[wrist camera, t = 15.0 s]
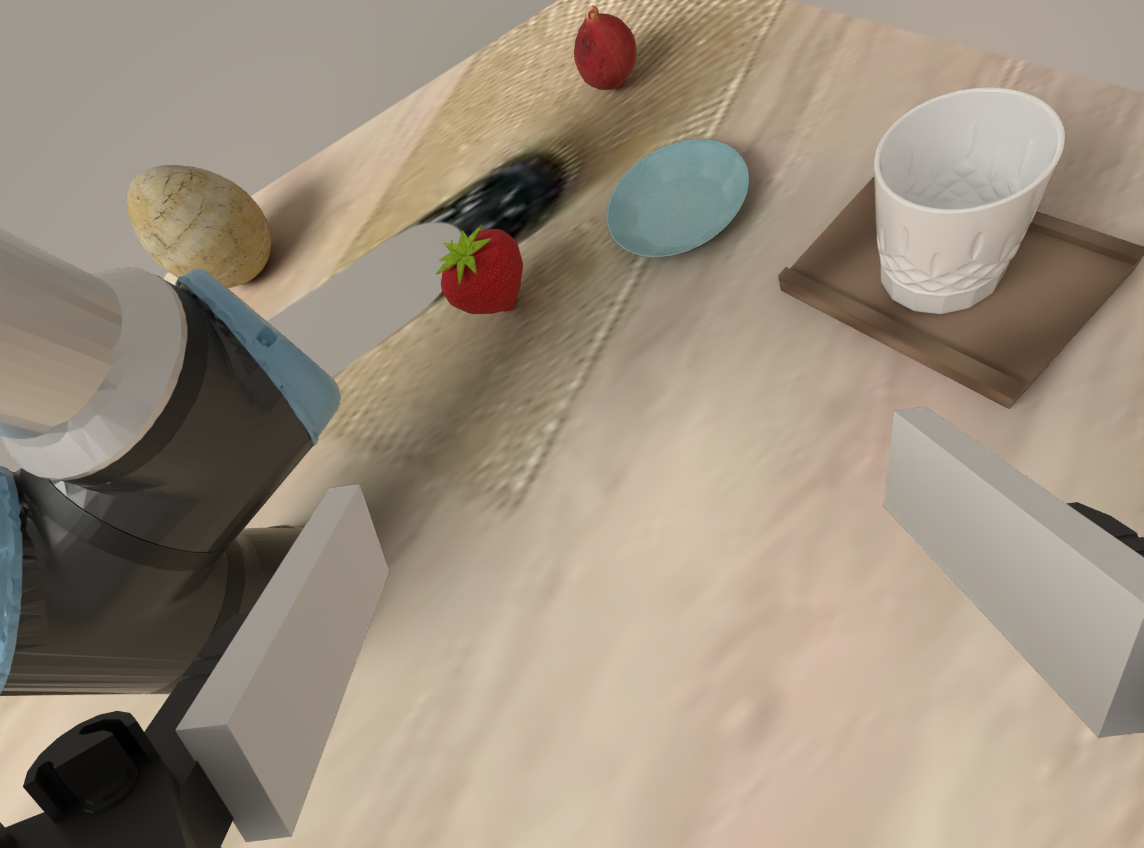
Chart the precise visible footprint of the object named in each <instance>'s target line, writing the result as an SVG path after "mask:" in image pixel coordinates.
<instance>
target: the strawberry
mask: <svg viewBox="0 0 1144 848" xmlns="http://www.w3.org/2000/svg"><path fill="white" fill-rule="evenodd" d="M481 228H482V225H481V226H480V227H479V228H478V229H477V230H476V231H475V232H474V233H473V234H471V235H470V236H469V237H468V238H467V236H466V235H465V233H464V232H463V230H462V233H461V236H460V240H459V243H458V244H455V243H454V244H453V243H452V240H451V243H444V244H445V245H446V247H447V248H448V249H449V251H450V252H451V253H450V254H448V255H446V256H445V257H443V258H441V259H440V261H444V260H447V261H446V262H445V263H444V264H443V266H442V267H441V268H440V269H439V270H438V272H437V273H436V274H439V273H441V272H443V273H442V279H441V288H442V291H443V293H444V295H445V297H446V298H447V300H448V302H449V303H450V304H451V305H452V306H454V307H456V308H458V309H461V310H463V311H465V312H467V313H470V314H492V313H496V312H501V311H508V310H511V309H512V308H513V307H514V306H515V304H516V301H517V295H518V292H519V289H520V285H521V277H522V270H523V262H522V258H521V254H520V251H519V247H518V245H517V242H516V241H515V240H514V239H513V238H512V237H511V236H510V235H508V234H507V233H506V232H504V231H502V230H499V229H491V230H483V231H480V230H481Z"/></svg>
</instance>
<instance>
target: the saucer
mask: <svg viewBox="0 0 1144 848" xmlns="http://www.w3.org/2000/svg"><path fill="white" fill-rule="evenodd" d="M748 186H749V173H748V168H747V165H746V163H745V161H744V159H743V158H742V156H741V155H740V154H739V153H738V152H737V151H736V150H735V149H734V148H732V147H731V146H729V145H727V144H725V143H723V142H720V141H716V140H711V139H691V140H684V141H680V142H676V143H673V144H670V145H667V146H665V147H662V148H660V149H658V150H656V151H654V152H653V153H651V154H649V155H648V156H646V157H644V158H643V159H642V160H640V161H639V162H637V163H636V164H635V165H634V166H633V167H632V168H631V169H630V170H629V171H628V172H627V173H626V174H625V175H624V176H623V177H622V179H621V180H620V181H619V183H618V184H617V186H616V187H615V189H614V191H613V193H612V195H611V197H610V200H609V203H608V207H607V226H608V229H609V233H610V234H611V236H612V238H613V239H614V241H615V242H616V243H617V244H618V245H619V246H620V247H621V248H623V249H625V250H626V251H628V252H630V253H633V254H636V255H640V256H646V257H665V256H672V255H677V254H680V253H684V252H687V251H689V250H692V249H694V248H696V247H698V246H700V245H702V244H704V243H706V242H708V241H709V240H711V239H712V238H714V237H715V236H716V235H717V234H718V233H720V232H721V231H722V230H723V229H724V228H725V227H726V226H727V225H728V224H729V223H730V222H731V221H732V220H733V218H734V217H735V216H736V214H737V213H738V211H739V210H740V208H741V206H742V204H743V202H744V200H745V198H746V194H747V192H748Z"/></svg>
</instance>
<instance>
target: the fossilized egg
mask: <svg viewBox="0 0 1144 848" xmlns="http://www.w3.org/2000/svg"><path fill="white" fill-rule="evenodd" d="M127 208H128V213H129V217H130V220H131V223H132V225H133V228H134V230H135V233H136V235H137V236H138V238H139V240H140V242H141V243H142V245H143V247H144V248H145V249H146V251H147V252H148V253H149V254H150V256H151V257H152V258H153V259H154V260H155V261H156V262H157V263H159V264H160V265H161V266H162V267H163V268H164V269H166V270H167V271H168V272H170V273H171V274H173V275H174V276H176V277H179V276H182V275H186V274H187V273H188V272H189V271H191V270H193V269H203V270H205V271H207V272H208V273H209V274H210V275H212V276H213V277H214V278H216V279H217V280H218V281H219V282H221V283H222V284H223V285H224V286H225V287H227V288H231V287H235V286H238V285H242V284H245V283H247V282H248V281H250V280H251V279H253V278H254V277H256V276H257V275H258V274H259V273H260V272H261V271H262V270H263V268H264V267H265V265H266V263H267V261H268V259H269V256H270V252H271V233H270V230H269V226H268V223H267V220H266V218H265V216H264V214H263V212H262V210H261V209H260V207H259V206H258V205H257V204H256V202H255V201H254V200H253V199H252V198H251V197H250V195H249V194H248V193H247V192H245V191H244V190H243V189H242V188H241V187H239V186H238V185H236V184H235V183H233V182H231V181H230V180H228V179H226V178H224V177H222V176H220V175H218V174H215V173H213V172H210V171H207V170H204V169H200V168H195V167H189V166H180V165H163V166H158V167H154V168H149V169H147V170H145V171H143V172H142V173H140V174H138V175H137V176H136V177H135V178H134V180H133V181H132V182H131V184H130V187H129V190H128V194H127Z"/></svg>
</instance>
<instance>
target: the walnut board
mask: <svg viewBox="0 0 1144 848" xmlns="http://www.w3.org/2000/svg"><path fill="white" fill-rule="evenodd" d="M875 216H876V209H875V177H873V178H872V179H871V180H870V181H869V182H868V183H867V185H866V186H865V187H864V188H863V189H862V190H861V191H860V192H859V193H858V194H857V196H856V197H855V198H854V199H853V200H852V201H851V202H850V203H849V204H848V205H847V207H846V208H845V209H844V210H843V211H842V212H841V213H840V214H839V215H838V216H837V218H836V219H835V220H834V221H833V222H832V223H831V224H830V225H829V226H828V227H827V229H826V230H825V231H824V232H823V233H822V234H821V235H820V236H819V237H818V238H817V240H816V241H815V242H814V243H813V244H812V245H811V246H810V247H809V248H808V249H807V251H806V252H805V253H804V254H803V255H802V256H801V257H800V258H799V259H798V260H797V262H796V263H795V264H794V265H793V266H792V267H791V268H790V269H789V268H787V267H786V268H785V269H784V270H783V271H782V272H781V273H780V274H779V275H778V276H779V282H780V287H781V290H782V291H784V292H786V293H788V294H789V295H791V296H793V297H795V298H797V299H799V300H801V301H803V302H805V303H807V304H809V305H811V306H812V307H814V308H816V309H818V310H820V311H822V312H824V313H826V314H828V315H830V316H832V317H834V318H836V319H837V320H839V321H841V322H843V323H845V324H847V325H849V326H851V327H853V328H855V329H857V330H859V331H861V332H862V333H864V334H866V335H868V336H870V337H872V338H874V339H876V340H878V341H880V342H882V343H884V344H885V345H887V346H889V347H891V348H893V349H895V350H897V351H899V352H901V353H903V354H905V355H907V356H909V357H910V358H912V359H914V360H916V361H918V362H920V363H922V364H924V365H926V366H928V367H930V368H932V369H933V370H935V371H937V372H939V373H941V374H943V375H945V376H947V377H949V378H951V379H953V380H955V381H957V382H958V383H960V384H962V385H964V386H966V387H968V388H970V389H972V390H974V391H976V392H978V393H980V394H982V395H983V396H985V397H987V398H989V399H991V400H993V401H995V402H997V403H999V404H1001V405H1003V406H1005V407H1006V408H1008V409H1009V408H1010V407H1011V406H1012V405H1013V404H1014V403H1015V402H1016V400H1017V399H1018V398H1019V397H1020V396H1021V395H1022V394H1023V393H1024V391H1025V390H1026V389H1027V388H1028V387H1029V386H1030V385H1031V384H1032V383H1033V381H1034V380H1035V379H1036V378H1037V377H1038V376H1039V375H1040V374H1041V373H1042V371H1043V370H1044V369H1045V368H1046V367H1047V366H1048V365H1049V364H1050V362H1051V361H1052V360H1053V359H1054V358H1055V357H1056V356H1057V355H1058V354H1059V352H1060V351H1061V350H1062V349H1063V348H1064V347H1065V346H1066V345H1067V344H1068V342H1069V341H1070V340H1071V339H1072V338H1073V337H1074V336H1075V335H1076V333H1077V332H1078V331H1079V330H1080V329H1081V328H1082V327H1083V326H1084V325H1085V323H1086V322H1087V321H1088V320H1089V319H1090V318H1091V317H1092V316H1093V315H1094V313H1095V312H1096V311H1097V310H1098V309H1099V308H1100V307H1101V306H1102V304H1103V303H1104V302H1105V301H1106V300H1107V299H1108V298H1109V297H1110V296H1111V294H1112V293H1113V292H1114V291H1115V290H1116V289H1117V288H1118V287H1119V286H1120V284H1121V283H1122V282H1123V281H1124V280H1125V279H1126V278H1127V277H1128V275H1129V274H1130V273H1131V272H1132V271H1133V270H1134V269H1135V268H1136V266H1137V264H1138V263H1139V261H1140V260H1141V258H1142V257H1143V255H1144V247H1142V246H1139V245H1136V244H1133V243H1130V242H1127V241H1124V240H1121V239H1118V238H1115V237H1112V236H1109V235H1106V234H1103V233H1100V232H1097V231H1094V230H1091V229H1088V228H1085V227H1082V226H1079V225H1076V224H1073V223H1070V222H1067V221H1064V220H1061V219H1058V218H1055V217H1052V216H1049V215H1046V214H1043V213H1040V212H1037V211H1036V213H1035V216H1034V218H1033V220H1032V222H1031V223H1030V225H1029V227H1028V229H1027V232H1026V234H1025V236H1024V238H1023V240H1022V242H1021V244H1020V246H1019V248H1018V250H1017V252H1016V254H1015V256H1014V257H1013V259H1012V260H1011V261H1010V263H1009V265H1008V268H1007V270H1006V272H1005V274H1004V276H1003V277H1002V279H1001V281H1000V282H999V284H998V285H997V287H996V289H995V290H994V292H993V293H992V294H991V295H989V296H988V297H986V298H985V299H983V300H981V301H980V302H978V303H977V304H975V305H974V306H972V307H970V308H968V309H963V310H959V311H954V312H949V313H945V314H934V313H926V312H917V311H913V310H911V309H909V308H907V307H905V306H903V305H902V304H900V303H898V302H896V301H894V300H893V299H892V298H891V297H890V295H889V294H888V292H887V291H886V289H885V287H884V286H883V284H882V283H881V262H880V255H879V251H878V244H877V228H876V217H875Z"/></svg>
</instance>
